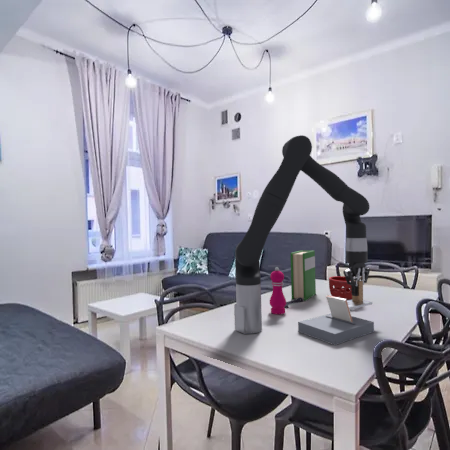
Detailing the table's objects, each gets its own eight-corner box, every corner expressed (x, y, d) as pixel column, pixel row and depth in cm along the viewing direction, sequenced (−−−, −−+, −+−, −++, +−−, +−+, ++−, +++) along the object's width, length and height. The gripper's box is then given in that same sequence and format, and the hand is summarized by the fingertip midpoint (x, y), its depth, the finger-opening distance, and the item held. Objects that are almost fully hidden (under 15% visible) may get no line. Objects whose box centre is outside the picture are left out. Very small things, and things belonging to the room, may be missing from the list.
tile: (352, 321, 112) (351, 322, 111) (334, 316, 119) (332, 317, 118) (346, 299, 110) (344, 300, 110) (327, 295, 117) (326, 296, 116)
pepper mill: (273, 309, 144) (272, 265, 144) (288, 311, 141) (287, 266, 141) (267, 313, 138) (266, 267, 138) (282, 315, 134) (281, 268, 135)
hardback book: (305, 300, 160) (304, 253, 160) (291, 299, 164) (290, 252, 164) (315, 293, 175) (314, 250, 175) (302, 292, 179) (301, 250, 179)
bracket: (311, 306, 152) (311, 300, 152) (285, 309, 146) (285, 303, 146) (294, 299, 165) (294, 294, 165) (269, 303, 160) (269, 297, 160)
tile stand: (335, 344, 101) (334, 332, 101) (298, 331, 114) (298, 320, 114) (374, 331, 112) (373, 320, 112) (336, 320, 125) (336, 311, 125)
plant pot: (329, 305, 150) (328, 279, 150) (329, 298, 163) (328, 275, 163) (359, 306, 146) (358, 280, 146) (357, 300, 158) (356, 276, 158)
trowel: (349, 310, 112) (348, 285, 112) (332, 305, 118) (332, 282, 118) (372, 304, 119) (372, 280, 119) (356, 300, 125) (355, 278, 125)
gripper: (353, 251, 113) (354, 299, 113) (376, 249, 121) (377, 294, 121) (336, 250, 120) (337, 296, 120) (358, 248, 127) (359, 291, 127)
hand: (357, 295), depth 120 cm, fingers closed on trowel, 2 cm apart
